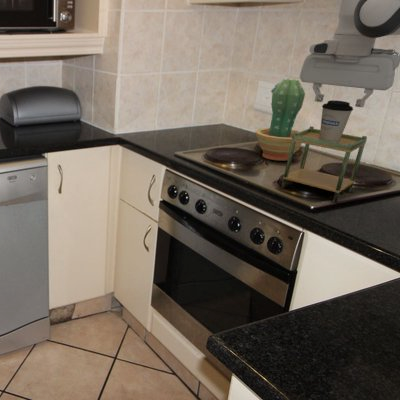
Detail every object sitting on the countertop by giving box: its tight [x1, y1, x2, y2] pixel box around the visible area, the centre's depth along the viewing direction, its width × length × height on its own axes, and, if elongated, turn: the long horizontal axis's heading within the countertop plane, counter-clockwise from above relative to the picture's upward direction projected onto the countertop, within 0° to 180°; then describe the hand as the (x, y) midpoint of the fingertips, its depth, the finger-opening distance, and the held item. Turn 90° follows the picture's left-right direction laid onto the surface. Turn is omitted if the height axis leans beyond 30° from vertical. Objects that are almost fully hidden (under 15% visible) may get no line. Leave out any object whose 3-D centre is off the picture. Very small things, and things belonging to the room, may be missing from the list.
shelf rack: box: [280, 125, 368, 204], centre depth 128 cm, size 14×12×16 cm
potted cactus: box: [255, 78, 306, 162], centre depth 154 cm, size 15×15×25 cm
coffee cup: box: [319, 99, 354, 143], centre depth 123 cm, size 7×7×10 cm
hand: (338, 104), depth 122 cm, fingers open, 8 cm apart
